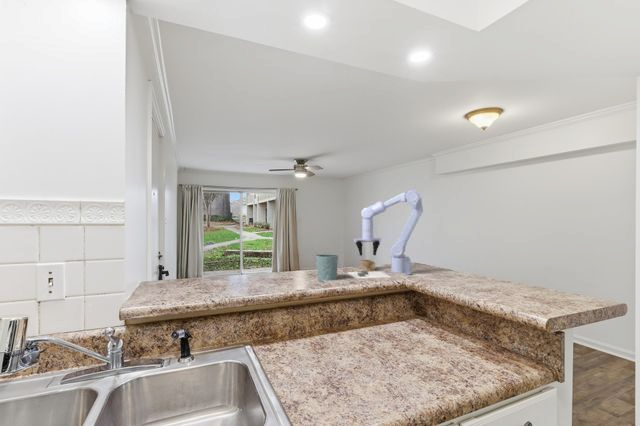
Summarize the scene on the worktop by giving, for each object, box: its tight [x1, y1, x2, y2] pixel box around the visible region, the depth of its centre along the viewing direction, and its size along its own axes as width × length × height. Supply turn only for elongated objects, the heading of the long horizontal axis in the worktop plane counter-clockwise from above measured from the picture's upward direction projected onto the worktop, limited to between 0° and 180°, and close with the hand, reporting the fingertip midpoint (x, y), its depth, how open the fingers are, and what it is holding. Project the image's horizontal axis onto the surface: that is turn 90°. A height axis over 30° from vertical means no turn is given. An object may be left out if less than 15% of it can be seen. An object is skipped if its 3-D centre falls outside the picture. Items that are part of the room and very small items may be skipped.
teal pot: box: [315, 253, 339, 284], centre depth 137 cm, size 10×10×12 cm
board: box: [346, 270, 392, 280], centre depth 146 cm, size 18×16×1 cm
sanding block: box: [360, 259, 376, 272], centre depth 161 cm, size 4×10×6 cm, turn 8°
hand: (367, 255), depth 161 cm, fingers open, 7 cm apart
